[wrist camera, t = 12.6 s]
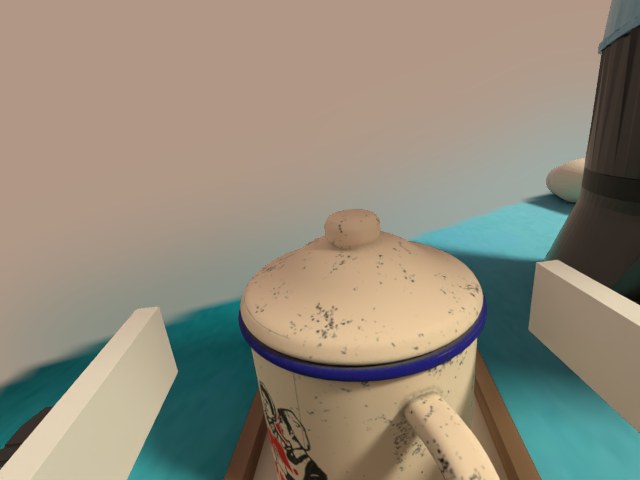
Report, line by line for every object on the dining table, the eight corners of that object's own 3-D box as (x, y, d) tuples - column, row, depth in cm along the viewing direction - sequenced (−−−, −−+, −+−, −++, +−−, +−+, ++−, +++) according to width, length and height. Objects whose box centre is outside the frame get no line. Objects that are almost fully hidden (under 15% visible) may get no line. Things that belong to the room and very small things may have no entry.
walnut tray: (474, 365, 21) (476, 345, 21) (711, 900, 7) (734, 875, 6) (275, 366, 23) (272, 347, 23) (133, 795, 9) (115, 770, 8)
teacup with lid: (257, 413, 19) (215, 209, 15) (402, 364, 22) (398, 178, 18) (334, 779, 8) (256, 408, 5) (606, 601, 11) (709, 258, 7)
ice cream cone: (612, 220, 42) (552, 207, 56) (661, 184, 40) (587, 180, 55) (578, 182, 41) (527, 179, 56) (626, 145, 40) (561, 151, 54)
